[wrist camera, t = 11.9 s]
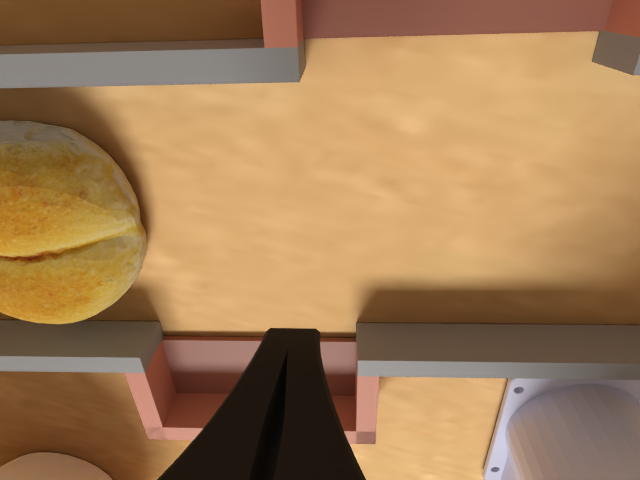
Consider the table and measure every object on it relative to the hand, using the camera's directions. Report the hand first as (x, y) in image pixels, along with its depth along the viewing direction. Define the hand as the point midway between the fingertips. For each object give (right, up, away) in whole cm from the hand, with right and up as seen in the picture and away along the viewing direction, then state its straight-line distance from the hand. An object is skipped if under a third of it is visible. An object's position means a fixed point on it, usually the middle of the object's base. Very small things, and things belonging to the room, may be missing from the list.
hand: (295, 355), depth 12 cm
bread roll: (-11, +4, +8) cm, 14 cm away
